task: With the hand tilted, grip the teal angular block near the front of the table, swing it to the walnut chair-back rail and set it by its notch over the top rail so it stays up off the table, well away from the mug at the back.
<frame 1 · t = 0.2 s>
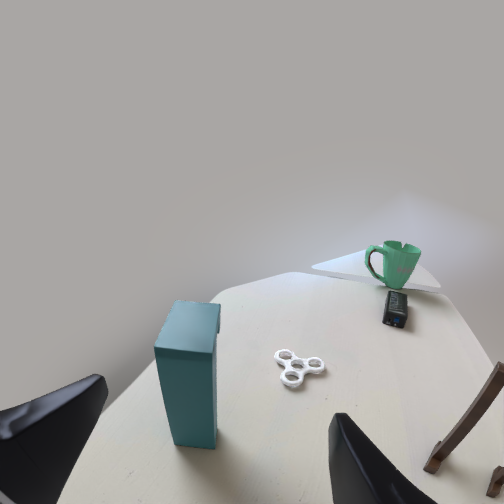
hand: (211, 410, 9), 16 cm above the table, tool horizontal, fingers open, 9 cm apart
teal angular block: (196, 435, 22), on the table
fidget spinner: (295, 372, 33), on the table
rack: (465, 473, 14), on the table
multiport hub: (394, 313, 49), on the table
mug: (385, 285, 62), on the table
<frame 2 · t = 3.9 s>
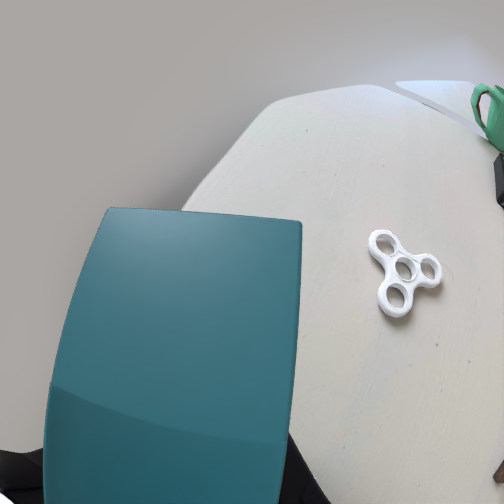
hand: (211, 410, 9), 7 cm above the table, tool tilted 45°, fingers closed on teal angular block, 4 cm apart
teal angular block: (224, 426, 14), on the table, touching gripper
fidget spinner: (398, 280, 18), on the table
mug: (487, 139, 31), on the table
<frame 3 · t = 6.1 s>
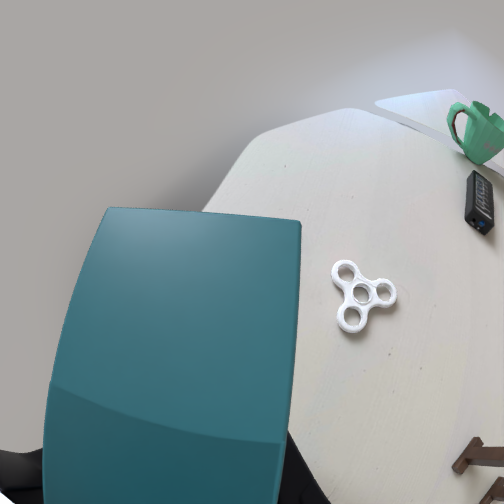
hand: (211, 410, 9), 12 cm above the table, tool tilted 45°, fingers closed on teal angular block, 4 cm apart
teal angular block: (224, 426, 14), point 6 cm above the table, touching gripper
fidget spinner: (356, 302, 24), on the table
rack: (479, 475, 12), on the table
multiport hub: (475, 205, 30), on the table
mug: (463, 153, 37), on the table
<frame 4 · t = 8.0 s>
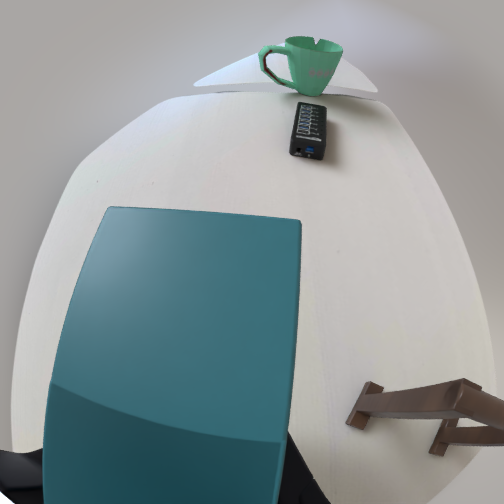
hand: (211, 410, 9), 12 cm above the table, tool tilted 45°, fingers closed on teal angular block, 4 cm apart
teal angular block: (224, 426, 14), point 6 cm above the table, touching gripper
rack: (405, 423, 18), on the table
multiport hub: (308, 135, 36), on the table
mug: (296, 91, 43), on the table
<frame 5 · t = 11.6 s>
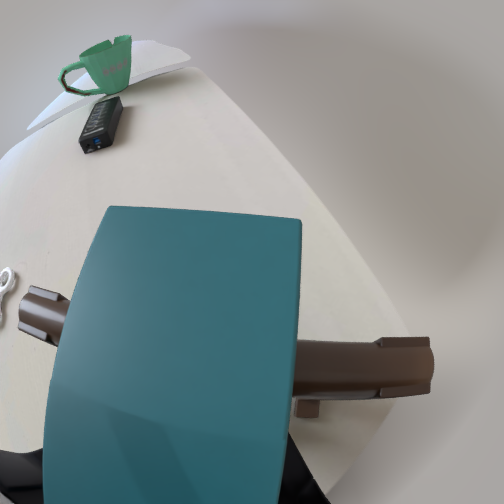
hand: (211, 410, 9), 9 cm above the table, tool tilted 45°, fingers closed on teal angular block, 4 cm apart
teal angular block: (224, 426, 14), point 2 cm above the table, touching gripper
rack: (234, 382, 17), on the table
multiport hub: (105, 128, 33), on the table
mug: (105, 95, 39), on the table
when the fingers open (8 cm above the table, at t = 12.2 s): teal angular block moves 8 cm and tips over, resting on rack.
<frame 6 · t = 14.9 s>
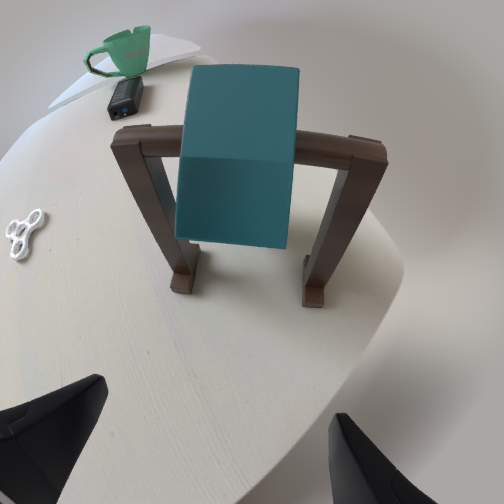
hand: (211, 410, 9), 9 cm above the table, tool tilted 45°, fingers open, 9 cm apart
teal angular block: (256, 198, 22), point 3 cm above the table, tilted 41°, touching rack
fidget spinner: (24, 238, 24), on the table
rack: (248, 277, 22), on the table
multiport hub: (128, 102, 37), on the table
mug: (125, 77, 44), on the table
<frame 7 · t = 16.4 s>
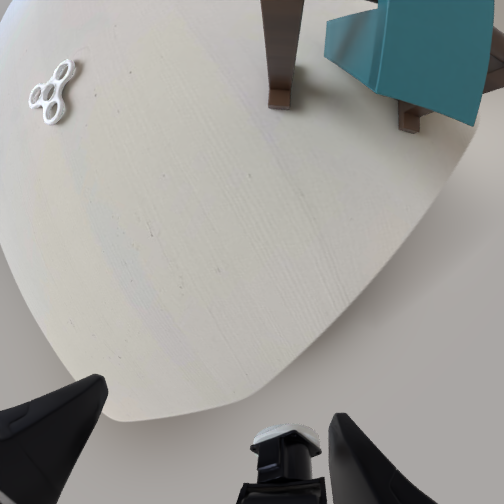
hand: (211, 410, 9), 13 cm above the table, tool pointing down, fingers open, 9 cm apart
teal angular block: (352, 43, 14), point 2 cm above the table, tilted 32°, touching rack
fidget spinner: (55, 98, 18), on the table
rack: (347, 94, 17), on the table
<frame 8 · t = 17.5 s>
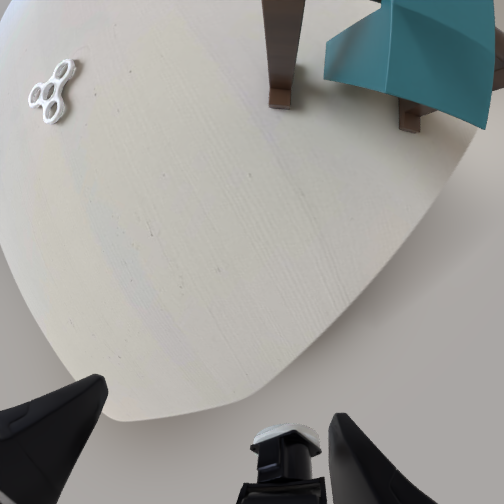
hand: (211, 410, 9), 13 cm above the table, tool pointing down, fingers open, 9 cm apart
teal angular block: (352, 65, 15), point 1 cm above the table, tilted 23°, touching rack
fidget spinner: (54, 97, 18), on the table
rack: (347, 93, 17), on the table
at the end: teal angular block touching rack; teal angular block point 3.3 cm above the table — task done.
